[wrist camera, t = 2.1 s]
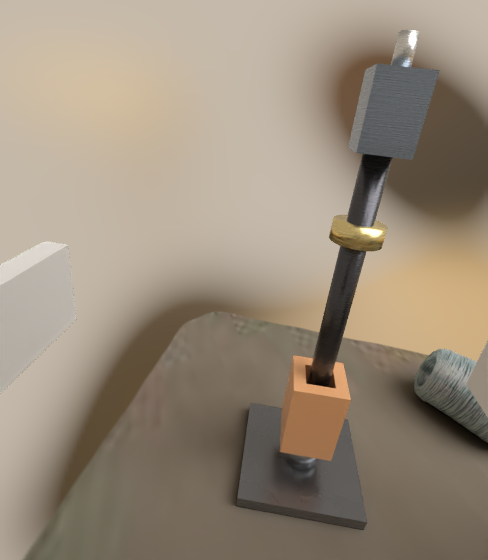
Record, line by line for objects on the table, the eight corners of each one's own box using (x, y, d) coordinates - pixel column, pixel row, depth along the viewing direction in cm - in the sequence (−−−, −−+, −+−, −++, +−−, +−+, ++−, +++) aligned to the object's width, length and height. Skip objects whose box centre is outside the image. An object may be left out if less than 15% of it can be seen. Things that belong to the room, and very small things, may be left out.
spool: (391, 378, 48) (449, 326, 45) (413, 380, 55) (464, 335, 52) (480, 477, 39) (558, 421, 36) (492, 464, 46) (559, 417, 43)
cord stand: (345, 426, 44) (466, 56, 27) (363, 529, 33) (587, 19, 16) (249, 410, 44) (306, 39, 27) (236, 505, 34) (317, -8, 16)
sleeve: (326, 420, 39) (343, 363, 35) (331, 461, 35) (350, 400, 31) (281, 413, 39) (293, 355, 36) (280, 452, 35) (293, 390, 31)
